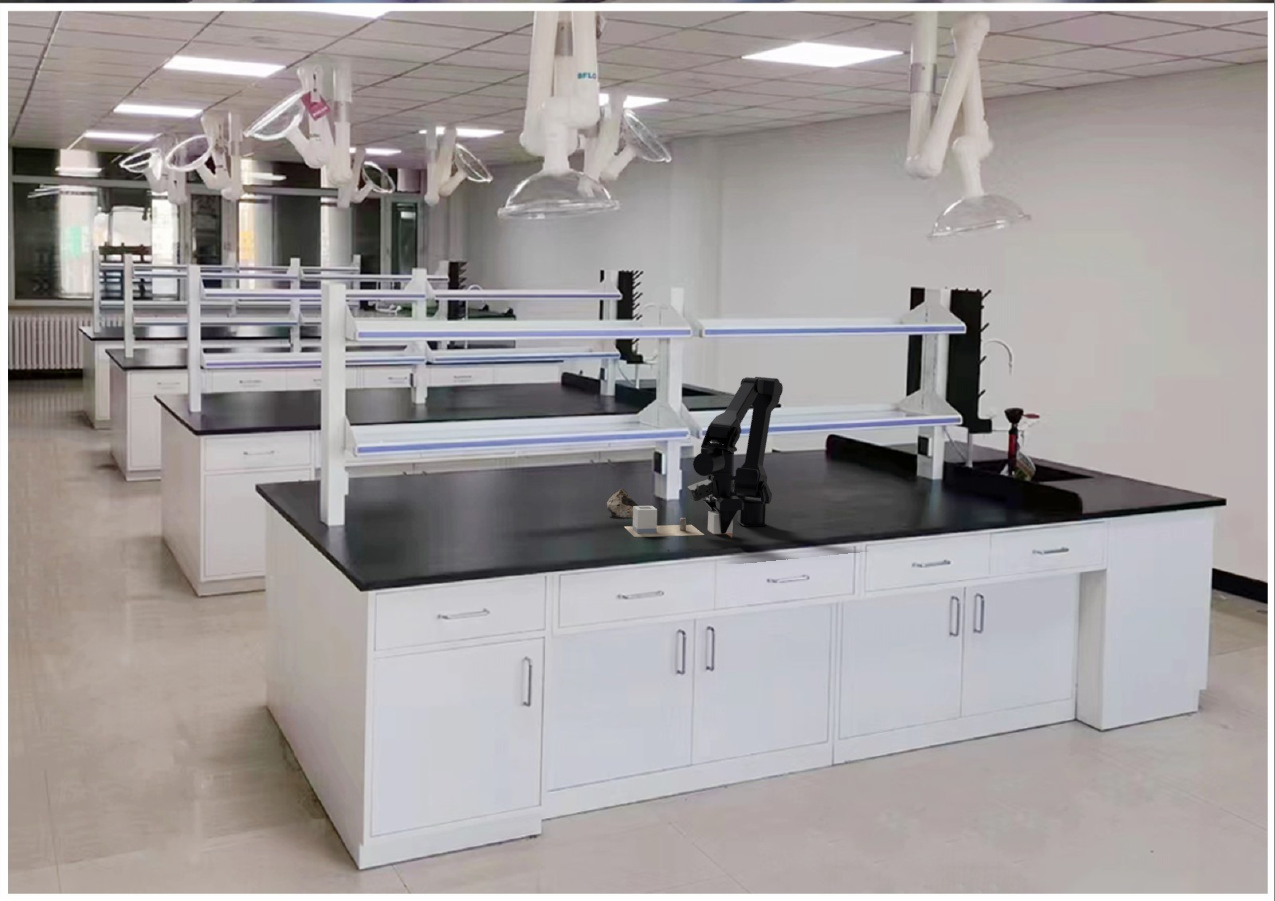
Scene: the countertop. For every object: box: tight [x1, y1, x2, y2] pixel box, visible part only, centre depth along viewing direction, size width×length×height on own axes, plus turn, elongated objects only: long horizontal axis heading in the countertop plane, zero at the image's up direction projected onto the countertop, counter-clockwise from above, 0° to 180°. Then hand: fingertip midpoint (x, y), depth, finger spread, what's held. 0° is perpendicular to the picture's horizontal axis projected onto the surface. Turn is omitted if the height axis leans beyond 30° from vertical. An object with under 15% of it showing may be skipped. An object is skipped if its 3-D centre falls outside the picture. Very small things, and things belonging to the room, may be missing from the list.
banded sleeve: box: [707, 510, 734, 538], centre depth 323 cm, size 5×5×6 cm
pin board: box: [624, 517, 705, 538], centre depth 323 cm, size 18×12×4 cm, turn 104°
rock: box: [606, 488, 640, 519], centre depth 342 cm, size 9×7×10 cm
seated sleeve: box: [632, 505, 658, 534], centre depth 321 cm, size 5×5×6 cm
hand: (720, 531), depth 323 cm, fingers closed on banded sleeve, 5 cm apart
